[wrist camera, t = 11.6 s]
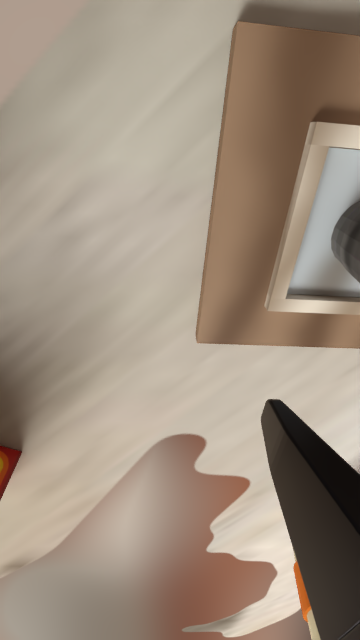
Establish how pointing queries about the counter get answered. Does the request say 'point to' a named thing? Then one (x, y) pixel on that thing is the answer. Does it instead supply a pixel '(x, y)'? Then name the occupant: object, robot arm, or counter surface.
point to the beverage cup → (348, 240)
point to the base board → (284, 192)
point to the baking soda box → (7, 466)
